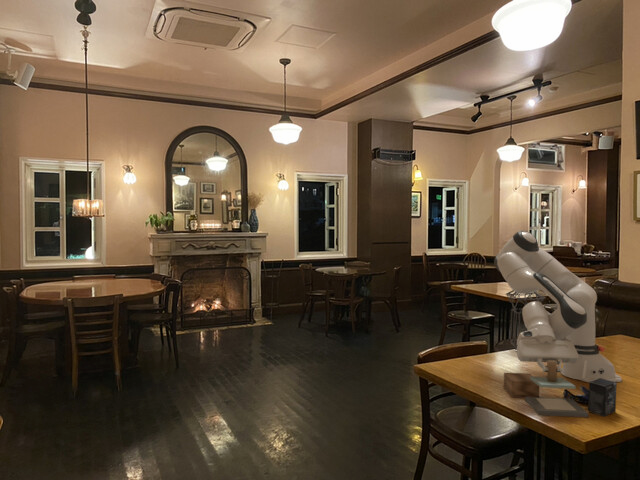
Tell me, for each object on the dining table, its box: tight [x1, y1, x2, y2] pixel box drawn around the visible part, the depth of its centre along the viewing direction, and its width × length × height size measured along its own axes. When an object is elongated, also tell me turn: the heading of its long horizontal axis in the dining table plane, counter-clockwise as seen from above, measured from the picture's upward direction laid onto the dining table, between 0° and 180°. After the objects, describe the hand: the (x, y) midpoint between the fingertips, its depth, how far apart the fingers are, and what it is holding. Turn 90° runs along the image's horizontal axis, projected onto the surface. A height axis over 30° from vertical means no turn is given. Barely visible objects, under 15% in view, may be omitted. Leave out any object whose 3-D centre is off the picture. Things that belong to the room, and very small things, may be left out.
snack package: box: [562, 385, 589, 404], centre depth 169 cm, size 12×6×12 cm
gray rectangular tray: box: [525, 396, 589, 418], centre depth 162 cm, size 16×13×2 cm
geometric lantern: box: [505, 289, 547, 353], centre depth 233 cm, size 16×16×35 cm
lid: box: [531, 360, 577, 390], centre depth 161 cm, size 11×11×8 cm
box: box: [587, 378, 617, 417], centre depth 160 cm, size 8×6×11 cm
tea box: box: [502, 372, 540, 398], centre depth 178 cm, size 10×10×6 cm
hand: (552, 371), depth 160 cm, fingers closed on lid, 3 cm apart
